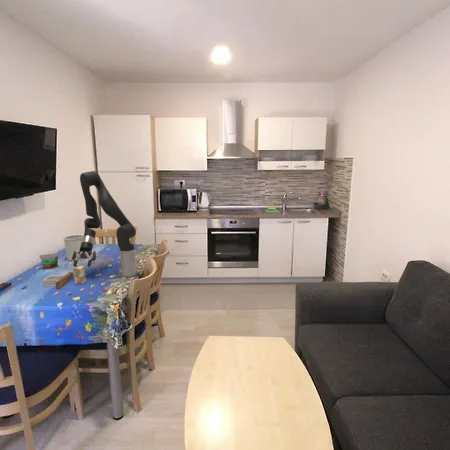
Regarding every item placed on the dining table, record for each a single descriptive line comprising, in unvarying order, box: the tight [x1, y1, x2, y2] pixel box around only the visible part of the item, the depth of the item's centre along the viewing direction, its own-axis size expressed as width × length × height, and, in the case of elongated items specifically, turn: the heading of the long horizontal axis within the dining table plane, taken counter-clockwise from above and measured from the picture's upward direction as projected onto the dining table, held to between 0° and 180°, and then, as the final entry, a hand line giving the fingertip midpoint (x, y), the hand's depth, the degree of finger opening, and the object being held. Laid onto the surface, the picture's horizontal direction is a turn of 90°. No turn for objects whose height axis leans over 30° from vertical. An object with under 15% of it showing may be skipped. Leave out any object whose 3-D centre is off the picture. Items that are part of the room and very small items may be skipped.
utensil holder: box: [62, 233, 84, 261], centre depth 248 cm, size 15×15×18 cm
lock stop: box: [73, 265, 86, 285], centre depth 197 cm, size 4×4×10 cm
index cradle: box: [41, 274, 63, 287], centre depth 198 cm, size 8×8×4 cm
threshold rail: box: [55, 271, 74, 290], centre depth 198 cm, size 2×18×4 cm, turn 1°
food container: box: [39, 252, 59, 270], centre depth 227 cm, size 12×6×10 cm, turn 105°
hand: (81, 266), depth 201 cm, fingers open, 8 cm apart
